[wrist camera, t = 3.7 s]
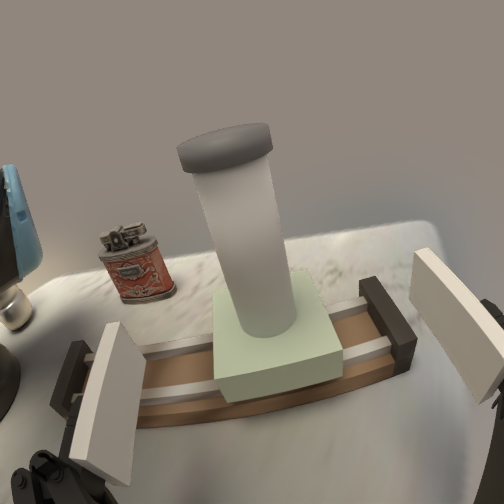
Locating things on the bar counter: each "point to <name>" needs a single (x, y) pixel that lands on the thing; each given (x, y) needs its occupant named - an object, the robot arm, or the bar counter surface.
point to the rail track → (216, 407)
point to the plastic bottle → (14, 308)
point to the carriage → (256, 273)
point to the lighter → (136, 265)
